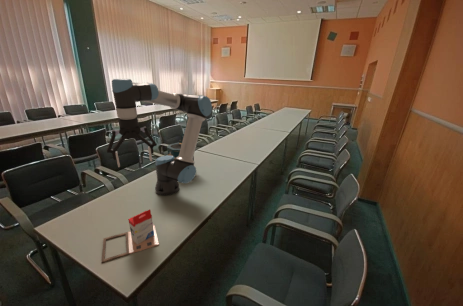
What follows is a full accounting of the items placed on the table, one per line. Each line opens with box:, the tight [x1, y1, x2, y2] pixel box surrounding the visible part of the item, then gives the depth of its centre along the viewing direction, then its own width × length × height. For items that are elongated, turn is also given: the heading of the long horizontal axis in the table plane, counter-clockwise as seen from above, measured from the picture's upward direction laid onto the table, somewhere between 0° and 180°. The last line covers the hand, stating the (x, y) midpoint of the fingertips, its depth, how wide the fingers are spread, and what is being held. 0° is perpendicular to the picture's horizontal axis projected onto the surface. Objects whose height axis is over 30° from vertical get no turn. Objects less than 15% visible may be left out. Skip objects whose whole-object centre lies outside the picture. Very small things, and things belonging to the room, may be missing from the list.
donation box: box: [166, 133, 195, 162], centre depth 159 cm, size 16×16×28 cm
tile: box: [127, 224, 160, 255], centre depth 95 cm, size 12×14×1 cm
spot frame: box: [101, 231, 130, 264], centre depth 90 cm, size 10×14×1 cm
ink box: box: [128, 208, 154, 245], centre depth 92 cm, size 8×5×15 cm, turn 140°
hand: (135, 163), depth 95 cm, fingers open, 13 cm apart
